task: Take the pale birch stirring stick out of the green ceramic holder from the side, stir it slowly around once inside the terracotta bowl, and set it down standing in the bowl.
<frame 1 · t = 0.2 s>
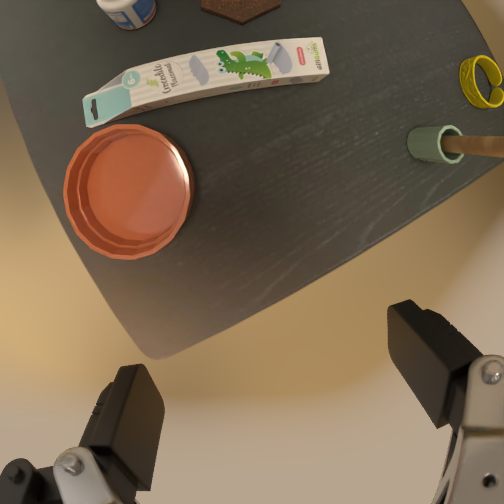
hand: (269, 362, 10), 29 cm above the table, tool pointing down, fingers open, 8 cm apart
bracelet: (475, 83, 34), on the table
box: (196, 81, 33), on the table
bowl: (136, 187, 36), on the table
stick: (422, 143, 36), resting on holder
holder: (420, 143, 36), on the table
pill bottle: (135, 13, 29), on the table
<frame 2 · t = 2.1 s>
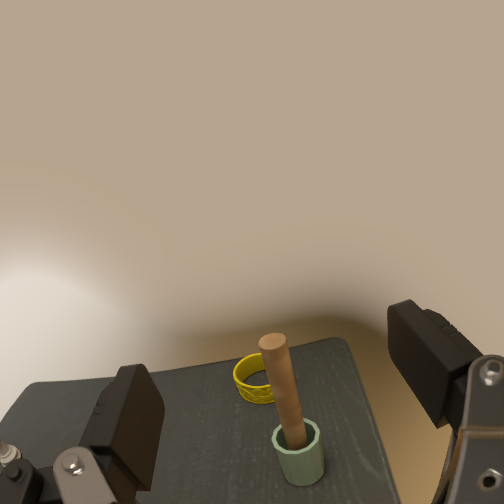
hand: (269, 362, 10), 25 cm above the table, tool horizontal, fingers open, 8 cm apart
bracelet: (265, 386, 43), on the table
chess piece: (12, 459, 31), on the table
stick: (303, 468, 28), resting on holder
holder: (304, 470, 28), on the table
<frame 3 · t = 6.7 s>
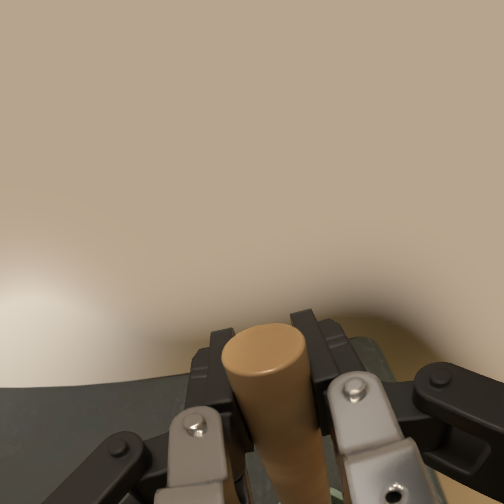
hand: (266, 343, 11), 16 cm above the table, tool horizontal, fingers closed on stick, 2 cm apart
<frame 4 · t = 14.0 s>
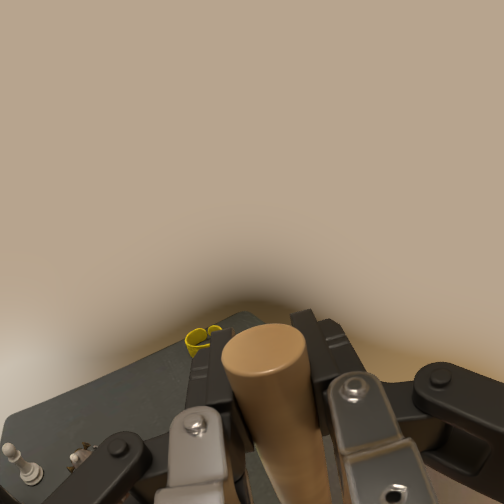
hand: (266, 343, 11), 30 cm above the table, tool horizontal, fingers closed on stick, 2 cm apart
bracelet: (208, 349, 63), on the table
chess piece: (34, 476, 33), on the table
robot figurine: (128, 496, 31), on the table
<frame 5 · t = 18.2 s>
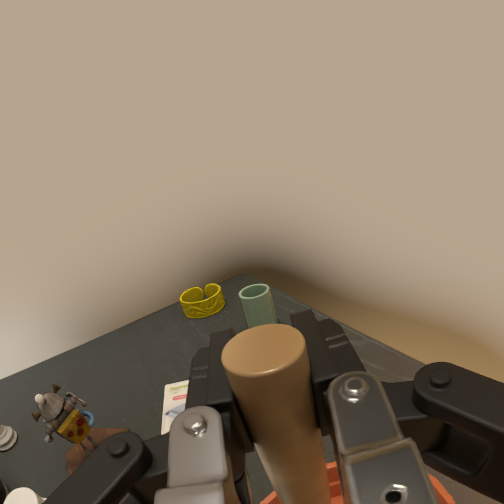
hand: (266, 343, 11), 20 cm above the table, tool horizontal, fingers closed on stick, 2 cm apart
bracelet: (205, 308, 60), on the table
box: (202, 503, 22), on the table
chess piece: (8, 442, 30), on the table
robot figurine: (105, 460, 28), on the table
holder: (264, 330, 48), on the table
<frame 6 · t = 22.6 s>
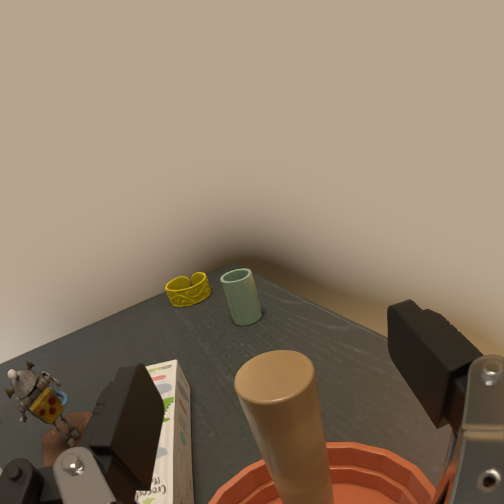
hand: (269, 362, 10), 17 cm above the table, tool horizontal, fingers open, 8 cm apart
bracelet: (191, 297, 60), on the table
box: (170, 489, 21), on the table
robot figurine: (80, 444, 27), on the table
holder: (247, 317, 48), on the table
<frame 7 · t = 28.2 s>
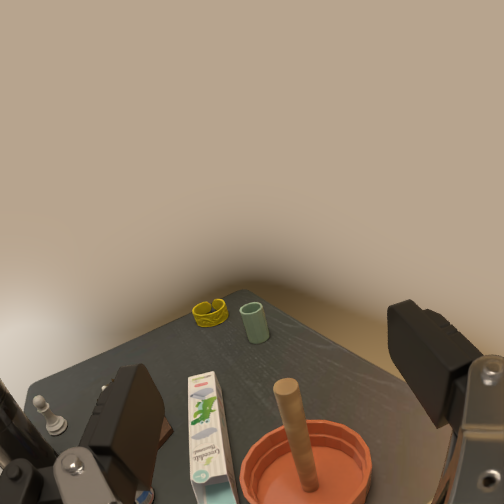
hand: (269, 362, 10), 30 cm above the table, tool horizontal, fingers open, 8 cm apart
bracelet: (212, 319, 76), on the table
box: (215, 456, 38), on the table
bowl: (310, 487, 30), on the table
chess piece: (58, 428, 45), on the table
stick: (310, 486, 29), point 1 cm above the table, touching bowl
robot figurine: (144, 433, 43), on the table
holder: (258, 337, 64), on the table
pill bottle: (138, 498, 31), on the table
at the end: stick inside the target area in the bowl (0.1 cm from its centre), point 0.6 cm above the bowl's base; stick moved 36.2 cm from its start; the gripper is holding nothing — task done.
